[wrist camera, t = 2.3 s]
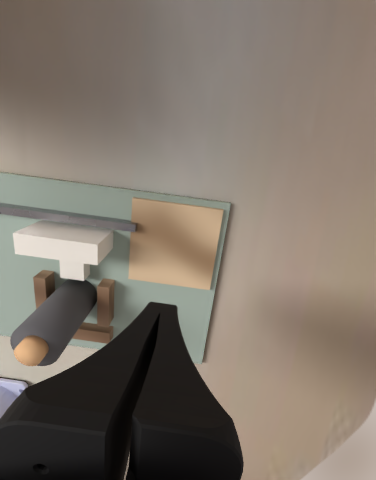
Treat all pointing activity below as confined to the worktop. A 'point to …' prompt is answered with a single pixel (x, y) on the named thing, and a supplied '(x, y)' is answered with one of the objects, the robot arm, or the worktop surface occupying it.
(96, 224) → the rail
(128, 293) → the mat
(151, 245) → the plate
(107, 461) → the robot arm
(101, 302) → the cradle
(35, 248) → the white t-shaped block
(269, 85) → the worktop surface
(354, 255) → the worktop surface
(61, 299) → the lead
